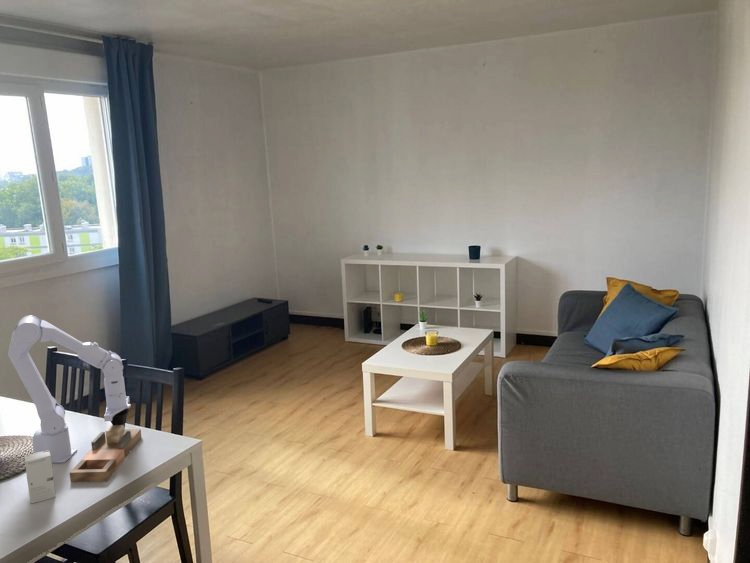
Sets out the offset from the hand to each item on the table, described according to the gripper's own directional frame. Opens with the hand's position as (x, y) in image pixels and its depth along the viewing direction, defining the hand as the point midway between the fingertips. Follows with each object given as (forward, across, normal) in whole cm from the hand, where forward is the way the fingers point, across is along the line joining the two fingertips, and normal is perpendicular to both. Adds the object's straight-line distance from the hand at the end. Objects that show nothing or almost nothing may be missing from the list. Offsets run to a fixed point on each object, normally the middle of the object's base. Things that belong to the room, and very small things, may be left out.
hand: (120, 432), depth 188 cm
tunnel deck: (+4, -9, 0) cm, 10 cm away
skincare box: (+4, -30, +9) cm, 31 cm away
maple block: (+1, -3, 0) cm, 3 cm away
